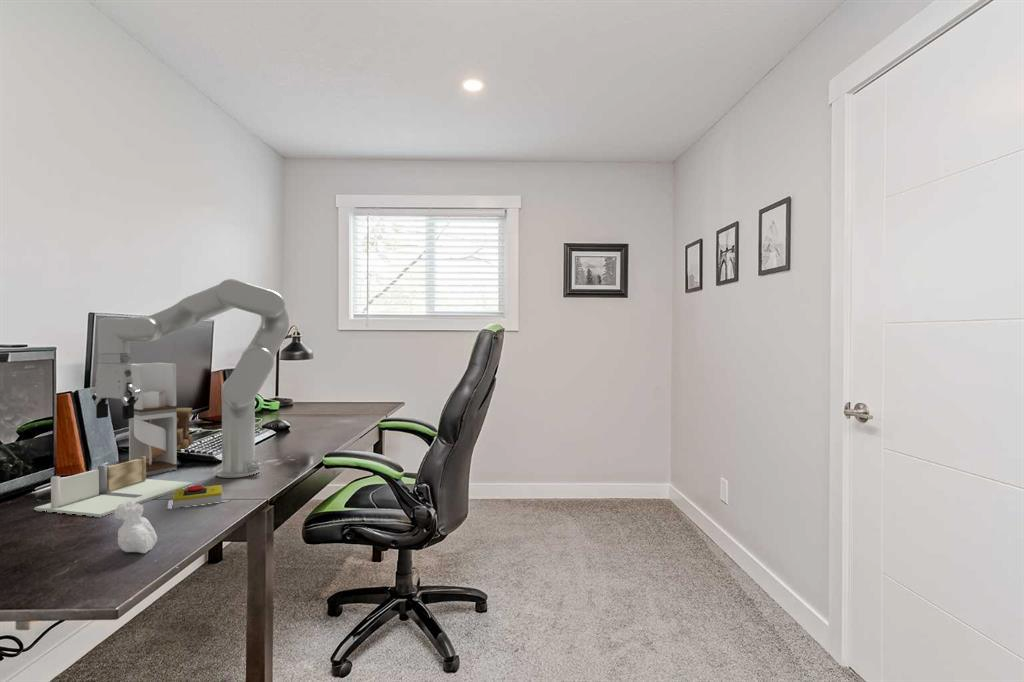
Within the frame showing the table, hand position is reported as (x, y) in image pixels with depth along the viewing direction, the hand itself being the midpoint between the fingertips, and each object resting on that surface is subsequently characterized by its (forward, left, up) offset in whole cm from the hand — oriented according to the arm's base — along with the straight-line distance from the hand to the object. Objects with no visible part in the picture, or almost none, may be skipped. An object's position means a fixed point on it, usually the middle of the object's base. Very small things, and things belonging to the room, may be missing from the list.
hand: (115, 418), depth 162 cm
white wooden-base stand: (+5, -17, -20) cm, 27 cm away
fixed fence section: (-6, +15, -19) cm, 25 cm away
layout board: (-11, +8, -20) cm, 24 cm away
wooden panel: (-6, +1, -19) cm, 20 cm away
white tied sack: (-48, +37, -20) cm, 64 cm away
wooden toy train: (+15, -36, -20) cm, 44 cm away
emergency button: (-35, +6, -21) cm, 41 cm away
